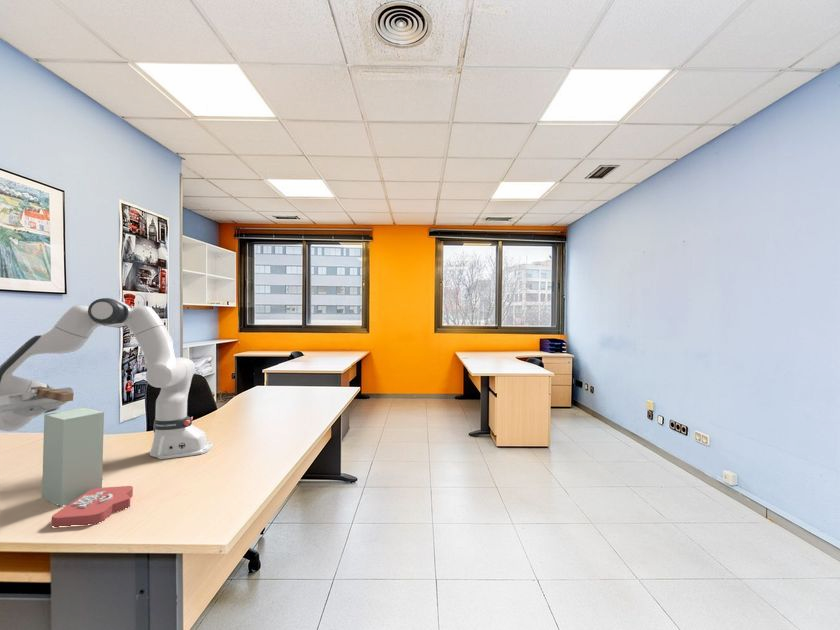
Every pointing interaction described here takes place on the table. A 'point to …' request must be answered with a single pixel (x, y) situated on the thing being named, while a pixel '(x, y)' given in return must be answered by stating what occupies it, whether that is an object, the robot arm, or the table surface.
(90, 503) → the plaque
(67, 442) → the pedestal
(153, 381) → the robot arm
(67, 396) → the rod
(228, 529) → the table surface
